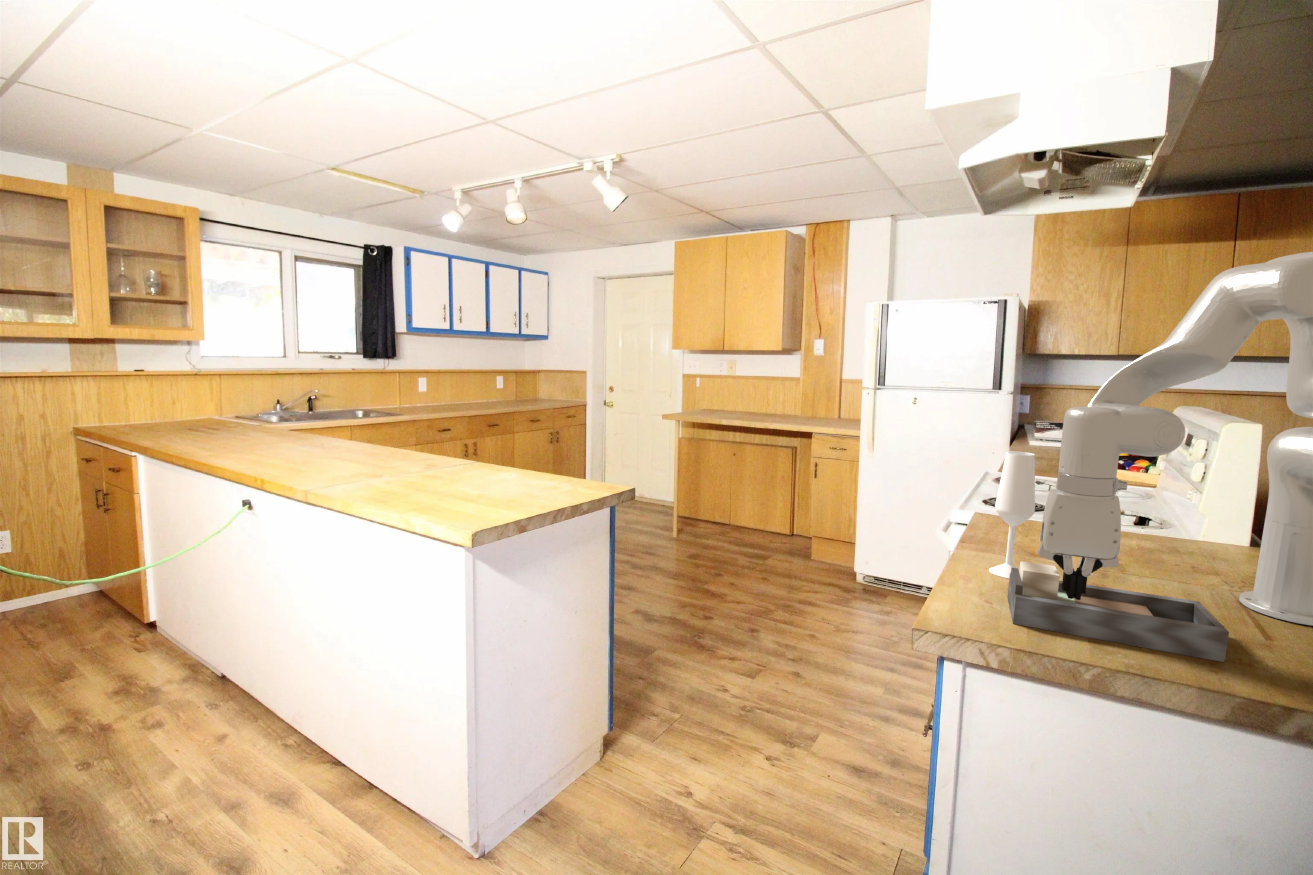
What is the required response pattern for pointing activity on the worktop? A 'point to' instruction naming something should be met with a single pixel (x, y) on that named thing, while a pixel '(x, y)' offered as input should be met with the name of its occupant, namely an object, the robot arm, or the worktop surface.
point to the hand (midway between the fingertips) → (1072, 596)
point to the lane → (1124, 619)
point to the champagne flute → (1015, 500)
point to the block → (1039, 580)
